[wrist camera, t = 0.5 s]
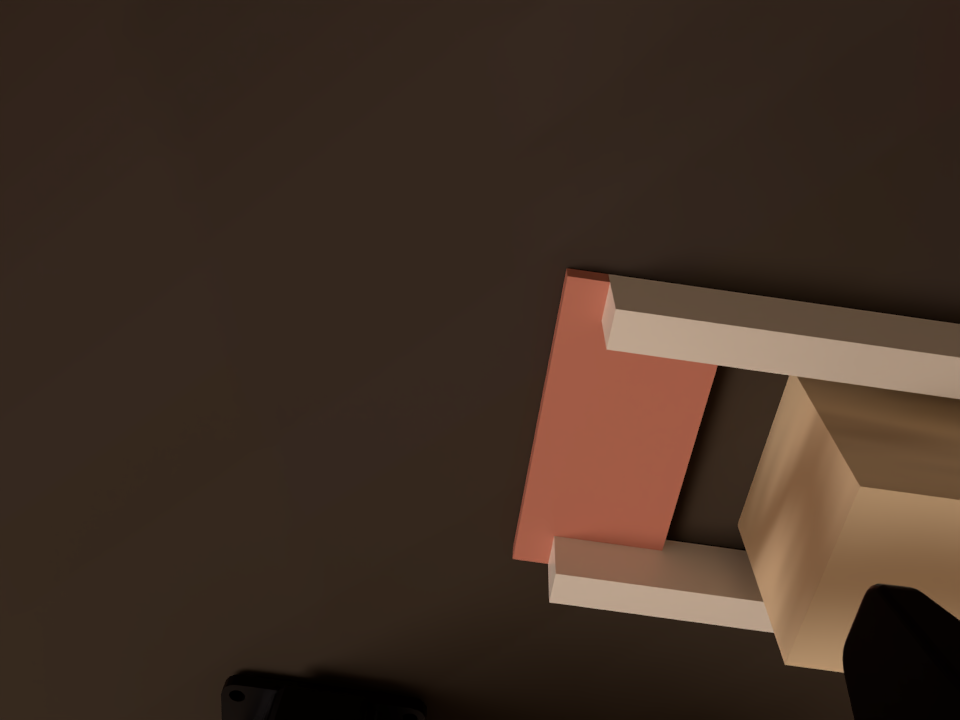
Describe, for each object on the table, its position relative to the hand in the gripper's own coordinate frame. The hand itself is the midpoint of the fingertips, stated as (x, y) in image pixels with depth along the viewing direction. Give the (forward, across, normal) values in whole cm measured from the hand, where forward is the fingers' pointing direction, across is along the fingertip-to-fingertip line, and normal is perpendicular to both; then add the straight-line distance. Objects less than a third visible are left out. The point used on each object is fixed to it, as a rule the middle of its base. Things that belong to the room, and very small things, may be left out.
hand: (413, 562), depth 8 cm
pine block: (+13, -11, +6) cm, 18 cm away
